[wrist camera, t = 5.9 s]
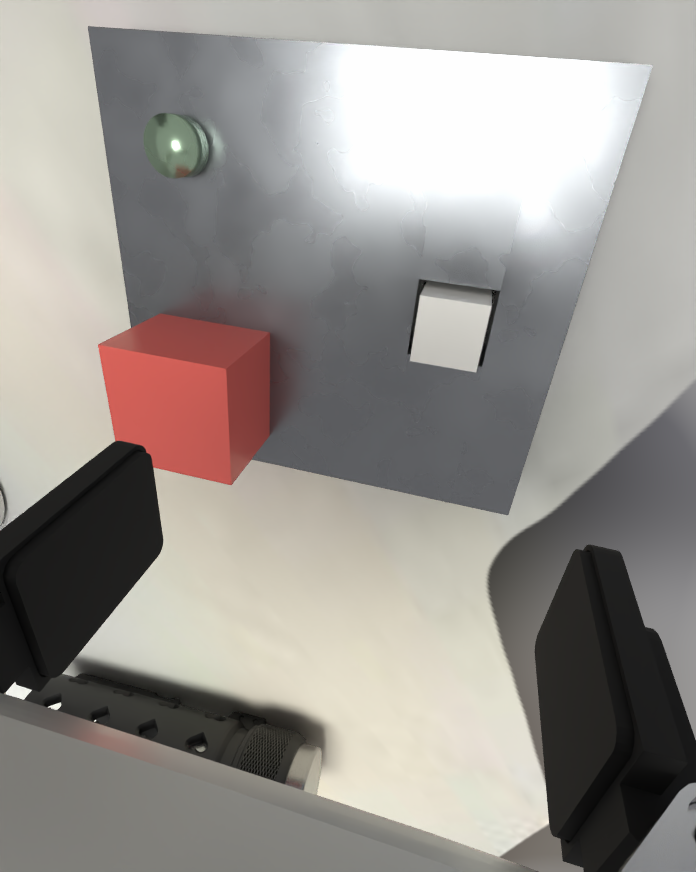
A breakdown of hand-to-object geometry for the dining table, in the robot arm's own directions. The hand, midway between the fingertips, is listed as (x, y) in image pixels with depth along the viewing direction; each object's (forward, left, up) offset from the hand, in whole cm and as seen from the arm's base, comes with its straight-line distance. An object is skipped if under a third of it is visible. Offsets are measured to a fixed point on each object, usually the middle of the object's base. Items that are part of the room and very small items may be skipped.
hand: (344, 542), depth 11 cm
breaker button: (+1, -1, -17) cm, 18 cm away
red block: (-4, +11, -15) cm, 19 cm away
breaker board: (+1, +5, -18) cm, 19 cm away
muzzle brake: (-44, +17, -18) cm, 50 cm away
